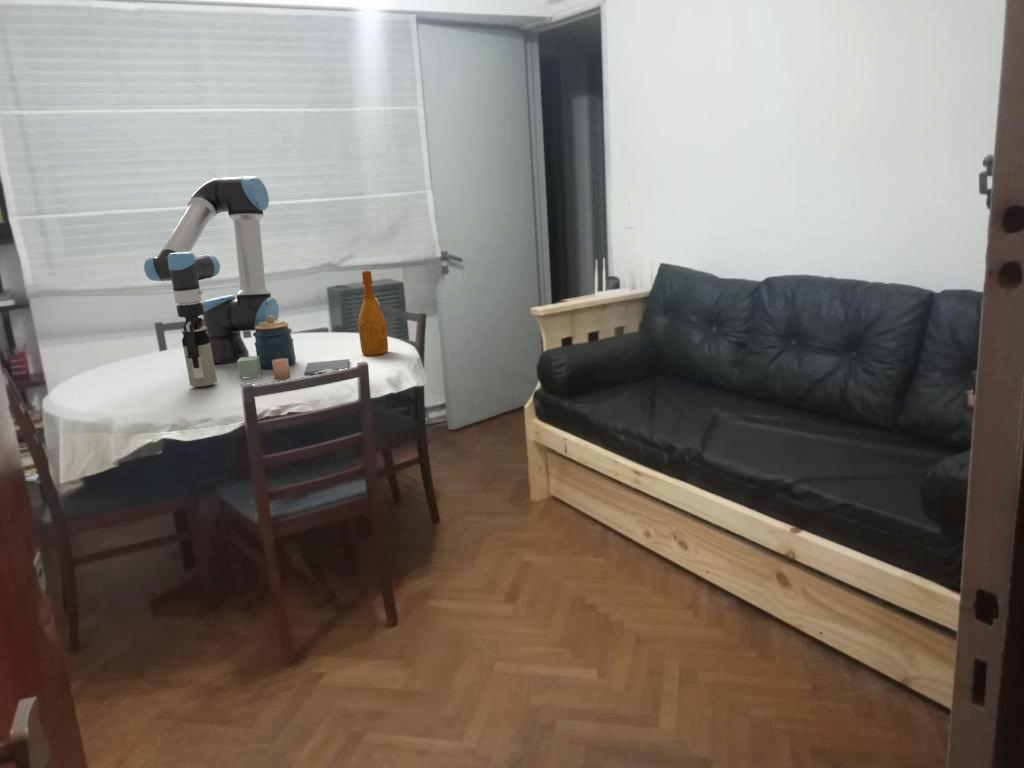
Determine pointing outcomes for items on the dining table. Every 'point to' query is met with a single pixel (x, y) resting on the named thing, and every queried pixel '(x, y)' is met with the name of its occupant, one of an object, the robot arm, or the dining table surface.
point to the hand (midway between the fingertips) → (202, 374)
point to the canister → (273, 342)
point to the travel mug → (205, 356)
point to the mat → (326, 366)
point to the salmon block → (281, 368)
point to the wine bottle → (371, 322)
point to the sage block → (249, 366)
